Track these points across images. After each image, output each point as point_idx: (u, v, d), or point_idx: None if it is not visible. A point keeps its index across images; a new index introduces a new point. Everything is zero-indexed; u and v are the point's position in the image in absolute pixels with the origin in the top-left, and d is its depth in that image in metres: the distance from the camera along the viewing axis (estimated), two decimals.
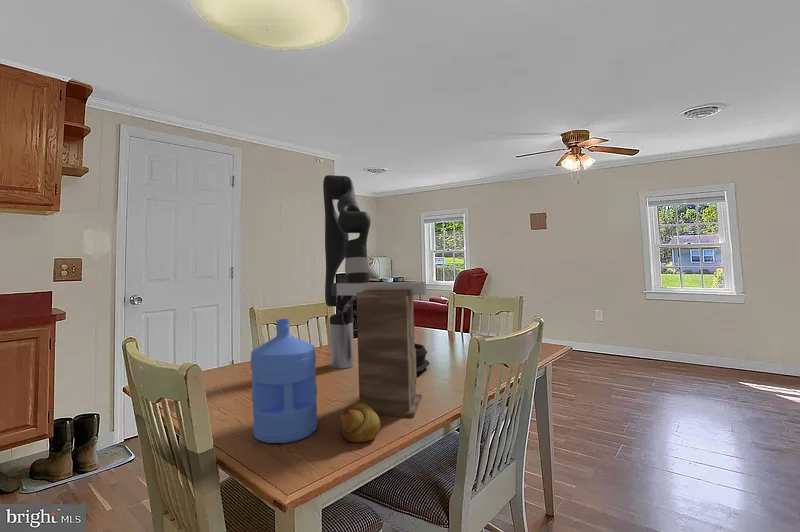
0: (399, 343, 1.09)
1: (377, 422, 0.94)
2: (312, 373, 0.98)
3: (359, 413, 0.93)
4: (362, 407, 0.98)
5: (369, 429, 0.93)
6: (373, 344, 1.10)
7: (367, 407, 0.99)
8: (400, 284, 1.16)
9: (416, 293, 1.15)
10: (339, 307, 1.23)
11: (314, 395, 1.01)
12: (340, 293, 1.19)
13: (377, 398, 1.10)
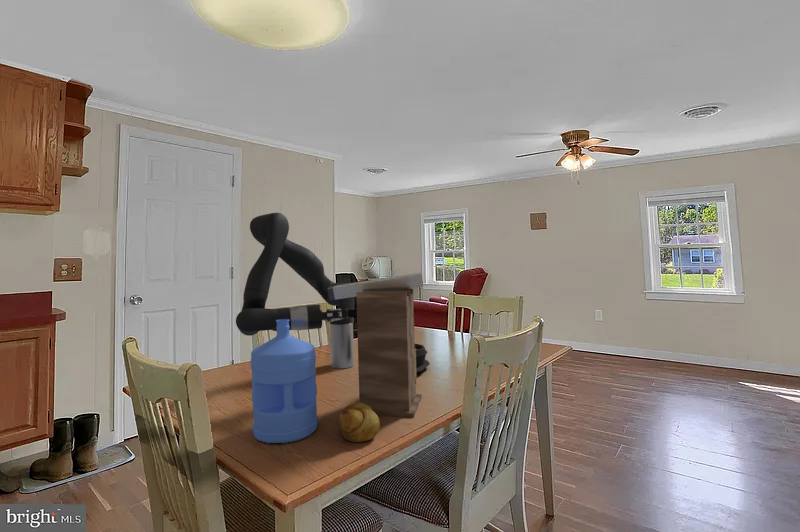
0: (399, 343, 1.09)
1: (376, 422, 0.94)
2: (312, 373, 0.98)
3: (358, 413, 0.93)
4: (361, 407, 0.99)
5: (368, 429, 0.93)
6: (373, 344, 1.10)
7: (366, 407, 0.99)
8: (398, 279, 1.16)
9: (415, 286, 1.17)
10: None
11: (314, 395, 1.01)
12: (338, 297, 1.18)
13: (377, 398, 1.10)
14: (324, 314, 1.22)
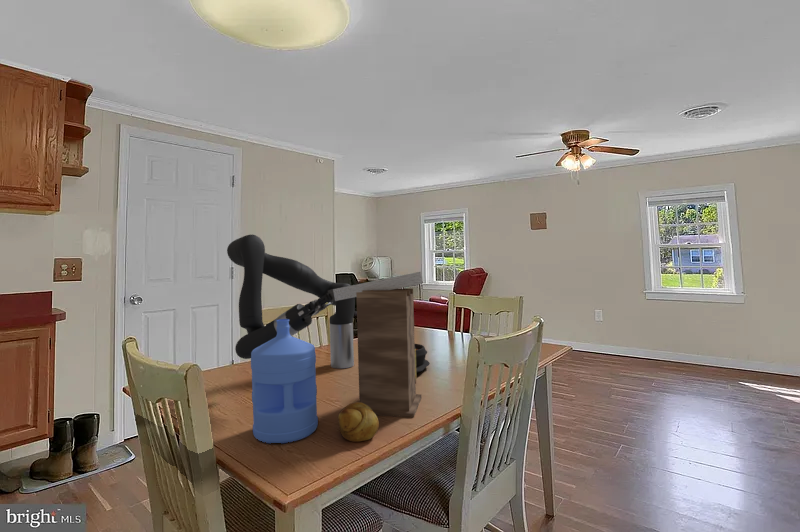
0: (399, 343, 1.09)
1: (375, 422, 0.95)
2: (312, 373, 0.98)
3: (357, 412, 0.94)
4: (361, 406, 0.99)
5: (367, 429, 0.93)
6: (373, 344, 1.10)
7: (366, 407, 1.00)
8: (397, 277, 1.17)
9: (414, 283, 1.16)
10: (330, 304, 1.28)
11: (314, 395, 1.01)
12: (338, 298, 1.18)
13: (377, 398, 1.10)
14: None
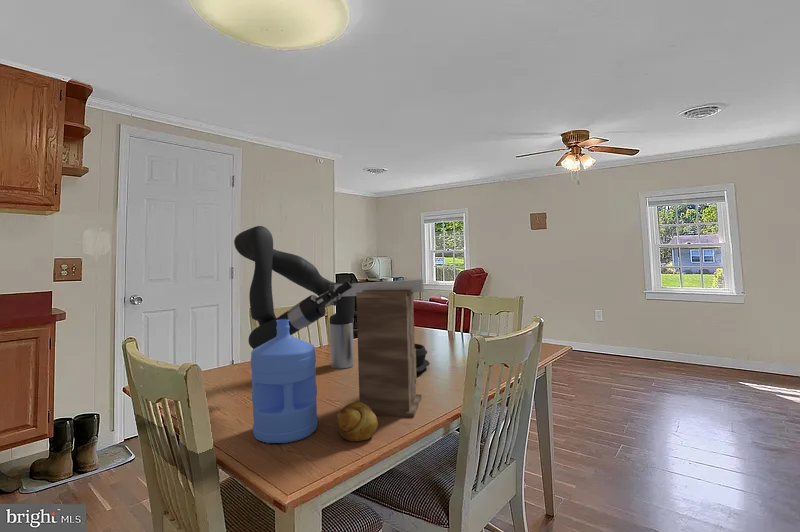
0: (399, 343, 1.09)
1: (374, 421, 0.95)
2: (312, 373, 0.98)
3: (356, 412, 0.94)
4: (360, 406, 0.99)
5: (365, 428, 0.93)
6: (373, 344, 1.10)
7: (365, 406, 1.00)
8: (397, 282, 1.15)
9: (414, 290, 1.15)
10: None
11: (314, 395, 1.01)
12: None
13: (377, 398, 1.10)
14: (315, 304, 1.18)
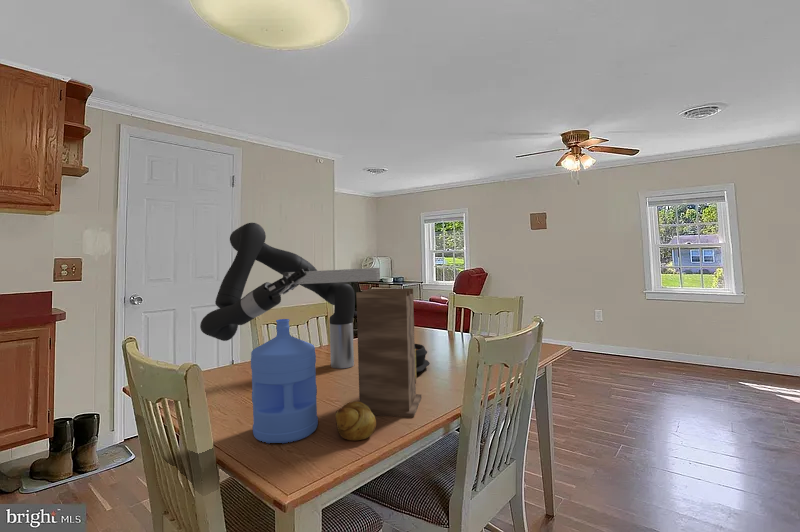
0: (399, 343, 1.09)
1: (372, 421, 0.95)
2: (312, 373, 0.98)
3: (354, 411, 0.94)
4: (359, 406, 0.99)
5: (363, 428, 0.93)
6: (373, 344, 1.10)
7: (364, 406, 1.00)
8: (352, 270, 1.12)
9: (368, 279, 1.11)
10: None
11: (314, 395, 1.01)
12: None
13: (377, 398, 1.10)
14: (268, 291, 1.15)
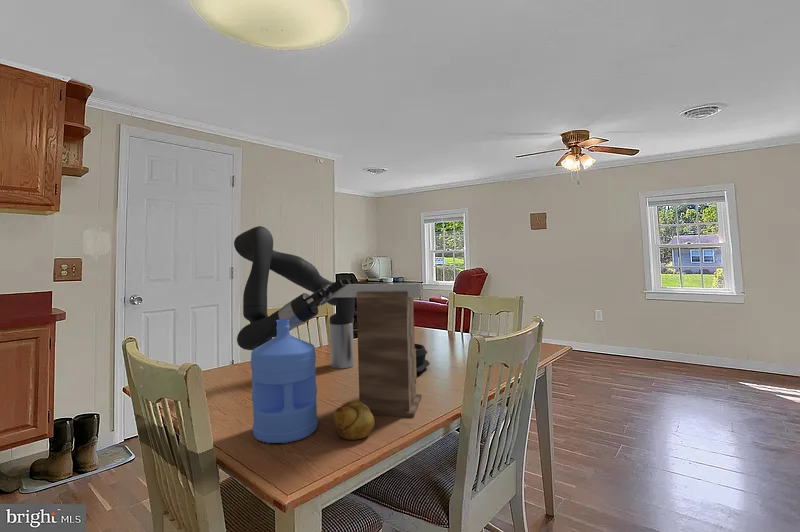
0: (399, 343, 1.09)
1: (370, 420, 0.95)
2: (312, 373, 0.98)
3: (352, 411, 0.95)
4: (358, 405, 1.00)
5: (361, 427, 0.94)
6: (373, 344, 1.10)
7: (363, 405, 1.01)
8: (394, 286, 1.10)
9: (411, 295, 1.09)
10: None
11: (314, 395, 1.01)
12: (331, 295, 1.13)
13: (377, 398, 1.10)
14: (307, 302, 1.13)
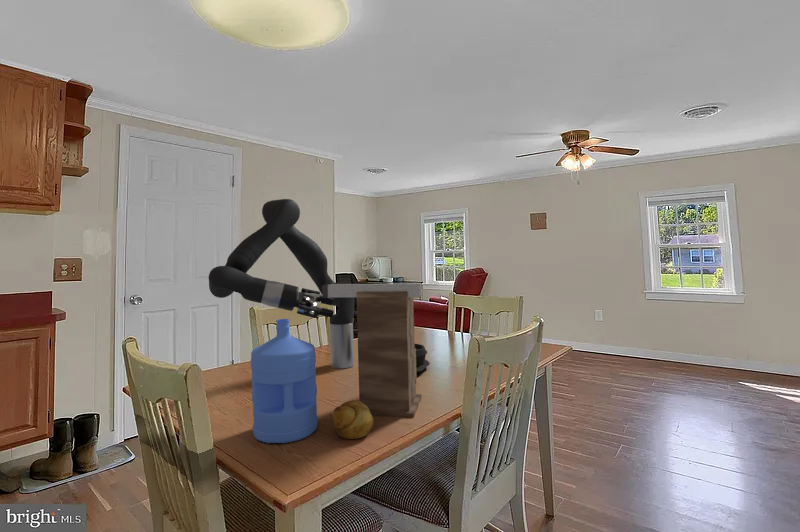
0: (399, 343, 1.09)
1: (368, 420, 0.96)
2: (312, 373, 0.98)
3: (350, 410, 0.95)
4: (357, 405, 1.00)
5: (359, 427, 0.94)
6: (373, 344, 1.10)
7: (362, 405, 1.01)
8: (394, 286, 1.10)
9: (411, 295, 1.09)
10: None
11: (314, 395, 1.01)
12: (331, 295, 1.13)
13: (377, 398, 1.10)
14: (297, 303, 1.17)
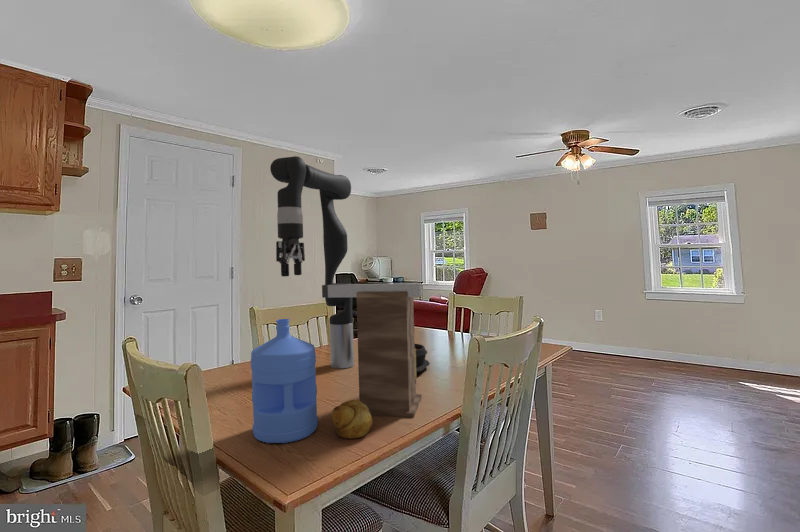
0: (399, 343, 1.09)
1: (367, 420, 0.96)
2: (312, 373, 0.98)
3: (349, 410, 0.95)
4: (356, 404, 1.00)
5: (358, 426, 0.94)
6: (373, 344, 1.10)
7: (361, 404, 1.01)
8: (394, 286, 1.10)
9: (411, 295, 1.09)
10: None
11: (314, 395, 1.01)
12: (331, 295, 1.13)
13: (377, 398, 1.10)
14: (286, 240, 1.19)
